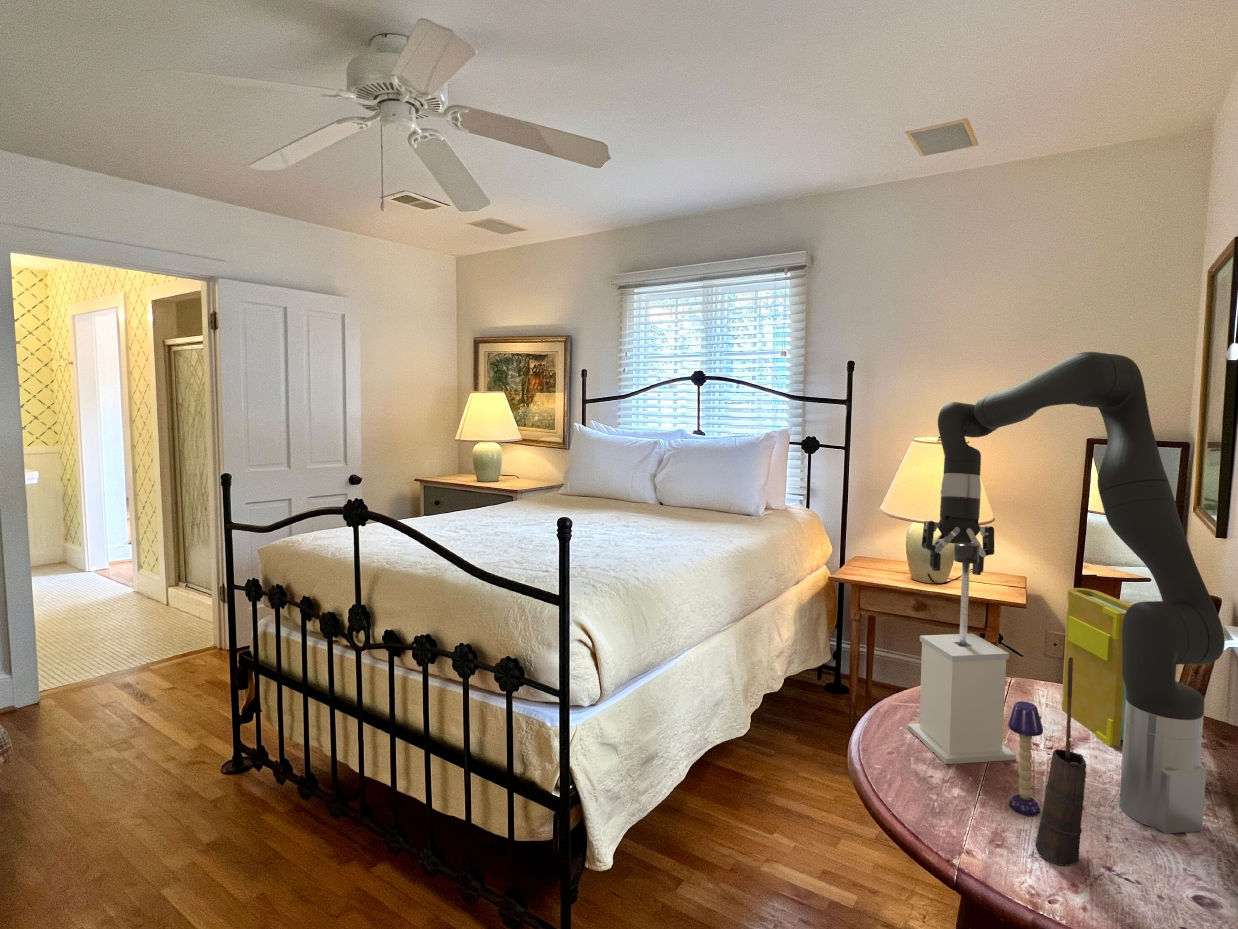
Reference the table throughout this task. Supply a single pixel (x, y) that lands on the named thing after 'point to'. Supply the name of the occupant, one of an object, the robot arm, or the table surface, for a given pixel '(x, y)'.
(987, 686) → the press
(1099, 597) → the book
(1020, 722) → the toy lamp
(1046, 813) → the butter churn
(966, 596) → the plunger
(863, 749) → the table surface
